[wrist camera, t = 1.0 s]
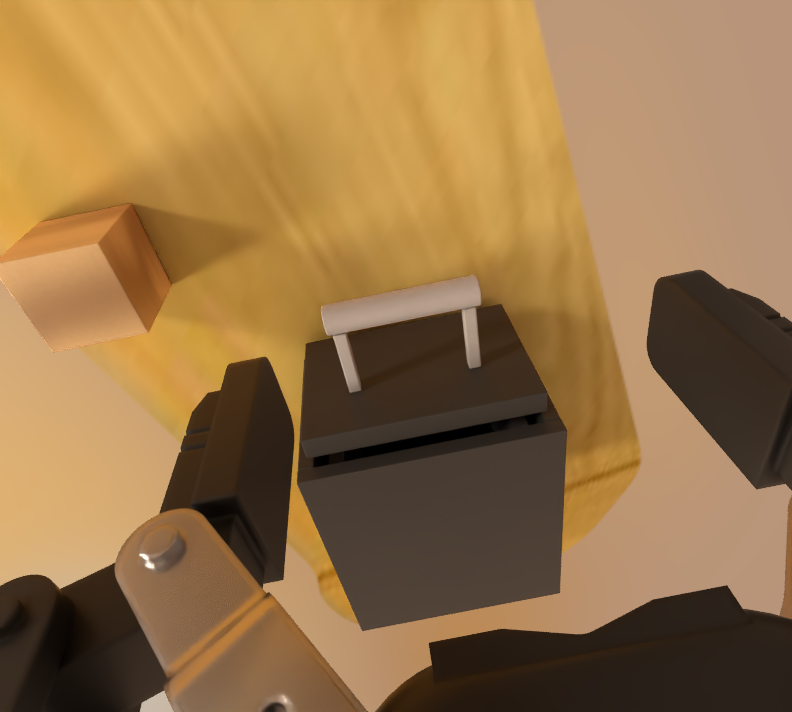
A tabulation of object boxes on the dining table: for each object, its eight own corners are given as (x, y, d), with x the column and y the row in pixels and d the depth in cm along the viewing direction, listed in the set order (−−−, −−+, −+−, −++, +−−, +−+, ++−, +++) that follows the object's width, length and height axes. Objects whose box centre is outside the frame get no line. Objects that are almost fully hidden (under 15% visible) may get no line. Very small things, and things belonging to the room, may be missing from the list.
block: (38, 222, 25) (-11, 265, 21) (131, 202, 25) (98, 243, 21) (88, 302, 28) (52, 353, 24) (172, 285, 28) (148, 333, 24)
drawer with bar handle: (279, 267, 27) (265, 357, 21) (497, 223, 27) (549, 300, 20) (355, 490, 38) (361, 593, 32) (509, 460, 38) (545, 557, 32)
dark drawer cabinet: (304, 358, 32) (296, 483, 24) (508, 317, 31) (567, 430, 24) (355, 505, 40) (362, 631, 33) (515, 474, 40) (559, 593, 32)
